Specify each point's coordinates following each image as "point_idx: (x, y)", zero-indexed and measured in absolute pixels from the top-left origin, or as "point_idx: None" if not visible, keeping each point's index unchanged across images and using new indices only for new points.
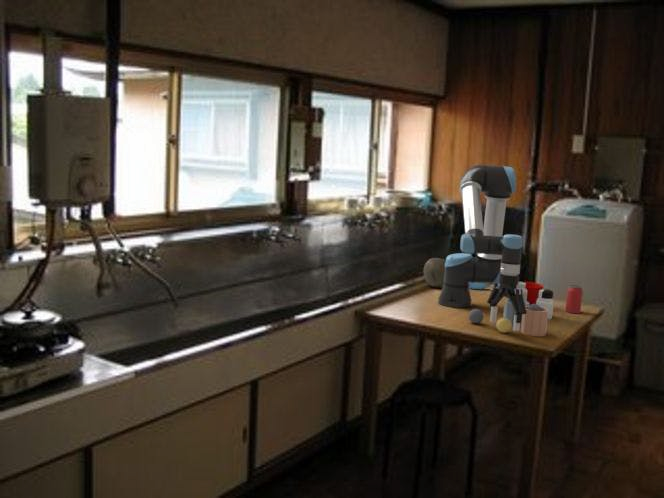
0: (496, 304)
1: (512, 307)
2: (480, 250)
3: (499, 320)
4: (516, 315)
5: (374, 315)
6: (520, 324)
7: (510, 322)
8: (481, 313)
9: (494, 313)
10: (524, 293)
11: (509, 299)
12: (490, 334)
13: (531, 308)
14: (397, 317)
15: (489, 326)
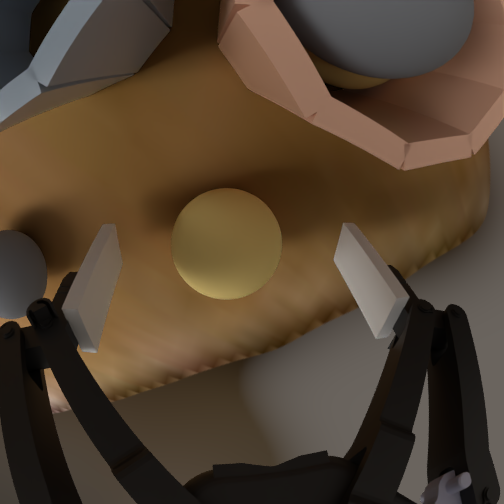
0: (65, 331)
1: (52, 95)
2: None
3: (217, 298)
4: (388, 327)
5: None
6: (168, 20)
7: (276, 244)
8: (20, 284)
9: (102, 288)
10: None
11: (345, 455)
12: (230, 300)
13: (418, 67)
14: None
15: (81, 212)
